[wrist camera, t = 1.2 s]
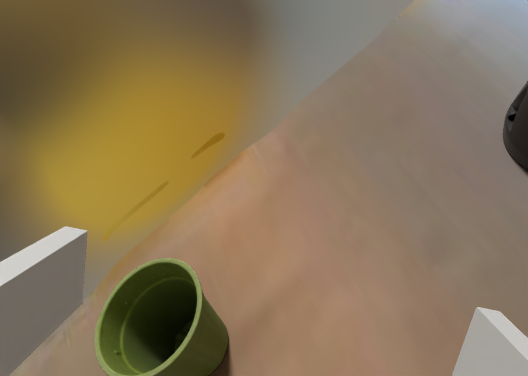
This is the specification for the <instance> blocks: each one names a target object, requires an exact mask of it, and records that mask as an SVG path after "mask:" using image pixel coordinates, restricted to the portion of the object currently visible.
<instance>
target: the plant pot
mask: <svg viewBox="0 0 528 376" xmlns="http://www.w3.org/2000/svg"><path fill="white" fill-rule="evenodd" d="M190 327H191V328H190ZM189 328H190V329H189ZM179 343H180V344H179ZM94 344H95V353H96V357H97V360H98V362H99V364H100V366H101V368H102V369H103V371H104V372H105V373H106V374H107V375H109V376H207V375H209V374H211V373H212V372H213V371H214V370H215V369H216V368H217V367H218V366H219V365H220V364H221V362H222V361H223V359H224V355H225V352H226V349H227V346H228V332H227V329H226V327H225V325H224V323H223V322H222V320H221V319H220V317H219V316H218V315H217V313H216V312H215V311H214V309H213V308H212V306H211V305H210V304H209V302H208V301H207V300H206V298H205V297H204V294H203V292H202V288H201V284H200V281H199V278H198V276H197V275H196V273H195V272H194V270H193V269H192V268H191V267H190V266H189V265H188V264H186V263H185V262H183V261H181V260H178V259H173V258H161V259H156V260H153V261H150V262H147V263H145V264H143V265H141V266H139V267H138V268H136V269H135V270H133V271H132V272H130V273H129V274H128V275H127V276H126V277H125V278H123V279H122V281H121V282H120V283H119V284H118V285H117V286H116V287H115V289H114V290H113V291H112V293H111V294H110V296H109V297H108V299H107V301H106V302H105V304H104V306H103V308H102V311H101V313H100V316H99V318H98V322H97V325H96V330H95V341H94Z"/></svg>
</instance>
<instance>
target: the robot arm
mask: <svg viewBox="0 0 528 376" xmlns="http://www.w3.org/2000/svg"><path fill="white" fill-rule="evenodd" d="M503 140H504V144H505V146H506V149H507V150H508V152H509V153H510V155H511V156H512V157H513V158H514V159H515V160H516V161H517V162H518V163H519V164H520V165H522V166H523V167H524V168H526V169H528V81H527V83H526V84H525V85H524V87H523V88H522V90H521V91H520V93H519V94H518V95H517V97H516V98H515V100H514V101H513V103H512V104H511V106H510V107H509V109H508V111H507V114H506V117H505V122H504V128H503ZM87 232H88V231H86V230H81V229H76V228H71V227H66V226H65V227H64V228H61V229H60V230H58V231H56V232H54V233H52V234H51V235H49V236H47V237H45V238H43V239H42V240H40V241H38V242H36V243H35V244H32V245H31V246H29V247H27V248H25V249H23V250H21V251H20V252H18V253H16V254H14V255H12V256H11V257H9V258H7V259H5V260H3V261H2V262H0V376H9V375H10V374H11V373H12V372H13V371H14V370H15V369H16V368H17V367H18V366H19V365H20V364H21V363H22V362H23V361H24V360H25V359H26V358H27V357H28V356H29V355H30V354H31V353H32V352H33V351H34V350H35V349H36V348H37V347H38V346H39V345H40V344H41V343H42V342H44V341H45V340H46V339H47V338H48V337H49V336H50V335H51V334H52V333H53V332H54V331H55V330H56V329H57V328H58V327H59V326H60V325H61V324H62V323H63V322H64V321H65V320H66V319H67V318H68V317H69V316H70V315H71V314H72V313H73V312H74V311H75V310H76V309H77V308H78V307H79V306H80V305H81V304H82V297H83V285H84V272H85V259H86V245H87ZM452 376H528V338H527V337H526V336H525V335H524V334H523V333H522V332H521V331H520V330H519V329H517V328H516V327H515V326H514V325H513V324H512V323H511V322H510V321H509V320H508V319H507V318H506V317H505V316H504V315H503V314H502V313H501V312H500V311H495V310H490V309H485V308H480V307H476V310H475V313H474V315H473V318H472V321H471V324H470V327H469V329H468V332H467V335H466V338H465V341H464V343H463V346H462V349H461V352H460V354H459V357H458V360H457V363H456V366H455V368H454V371H453V374H452Z"/></svg>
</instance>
